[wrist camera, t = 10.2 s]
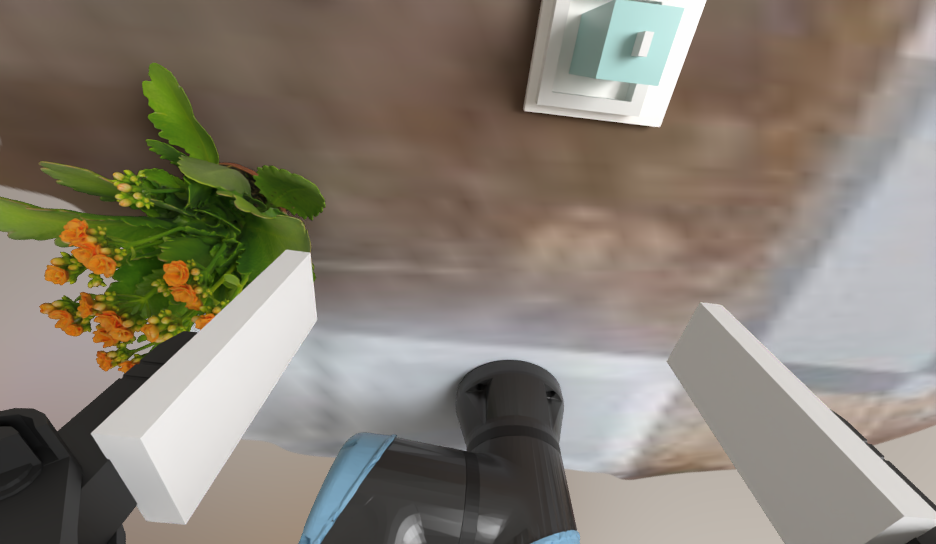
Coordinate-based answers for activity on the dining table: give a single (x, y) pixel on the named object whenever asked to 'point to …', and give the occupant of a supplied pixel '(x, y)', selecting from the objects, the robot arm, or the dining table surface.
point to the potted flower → (166, 233)
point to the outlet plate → (599, 97)
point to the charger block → (625, 41)
